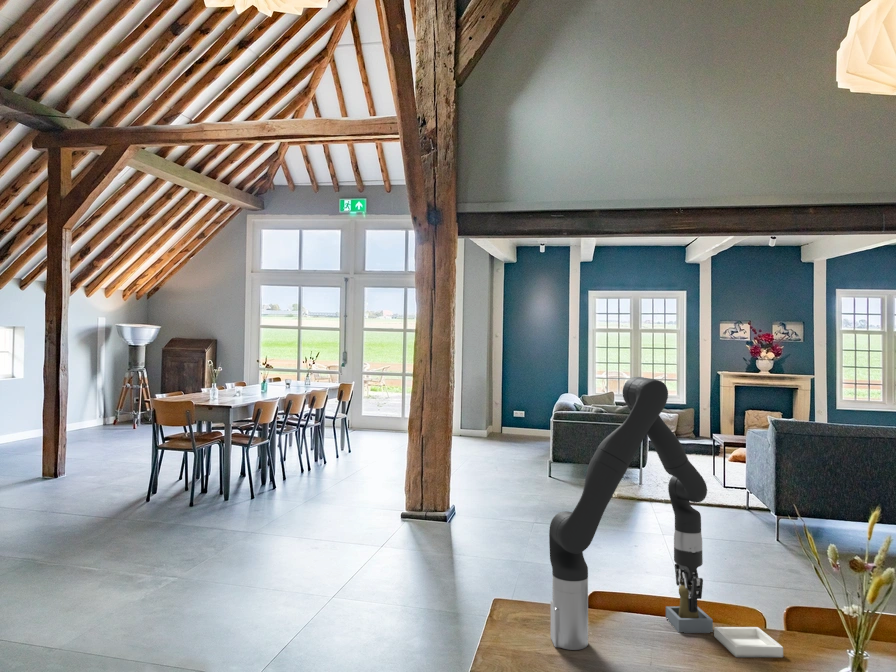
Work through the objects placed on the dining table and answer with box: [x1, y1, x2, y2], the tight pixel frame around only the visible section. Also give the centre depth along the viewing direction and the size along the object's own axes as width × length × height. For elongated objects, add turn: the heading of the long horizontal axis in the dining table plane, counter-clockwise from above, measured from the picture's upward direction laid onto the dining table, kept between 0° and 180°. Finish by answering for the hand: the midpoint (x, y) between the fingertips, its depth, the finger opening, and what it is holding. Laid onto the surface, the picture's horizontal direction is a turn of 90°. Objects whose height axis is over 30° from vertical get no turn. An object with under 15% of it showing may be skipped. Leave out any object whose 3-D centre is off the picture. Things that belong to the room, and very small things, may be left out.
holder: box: [665, 605, 714, 634], centre depth 173 cm, size 9×9×4 cm
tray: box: [713, 626, 784, 658], centre depth 160 cm, size 12×12×2 cm
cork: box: [678, 584, 699, 618], centre depth 173 cm, size 6×6×11 cm
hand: (688, 607), depth 173 cm, fingers closed on cork, 5 cm apart
